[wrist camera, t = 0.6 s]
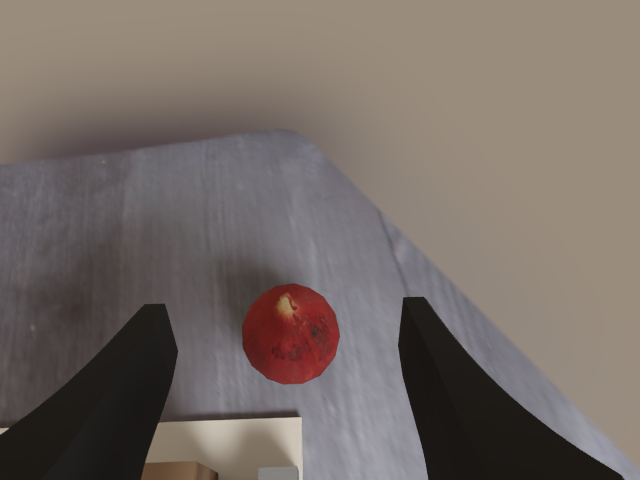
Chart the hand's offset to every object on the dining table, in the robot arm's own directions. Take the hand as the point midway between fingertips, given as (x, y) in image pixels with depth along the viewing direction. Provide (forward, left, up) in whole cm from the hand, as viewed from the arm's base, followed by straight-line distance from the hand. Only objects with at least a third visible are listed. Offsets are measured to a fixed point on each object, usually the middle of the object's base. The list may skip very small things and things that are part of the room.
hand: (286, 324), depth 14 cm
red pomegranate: (+5, 0, -17) cm, 18 cm away
